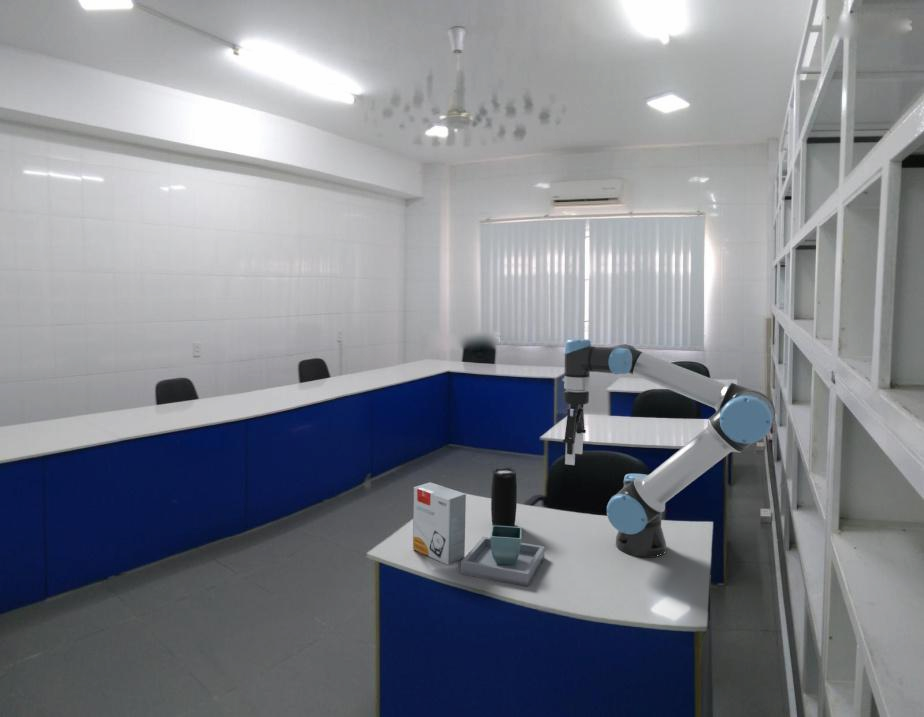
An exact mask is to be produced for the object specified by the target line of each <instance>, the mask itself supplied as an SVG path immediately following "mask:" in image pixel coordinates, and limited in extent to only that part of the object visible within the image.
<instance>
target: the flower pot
mask: <svg viewBox="0 0 924 717" xmlns="http://www.w3.org/2000/svg"><path fill="white" fill-rule="evenodd" d="M522 529H523V528H522V527H519V526H514V527H509V526H491V532H490V535H489V536H490V537H489V538H491V551H492V556H493V558H494V560H495V562H496V563H497V564H506V565H514V564H515V562H516V561H517V559H518V556H519V552H520V545H521V543H522V532H523V531H522Z"/></svg>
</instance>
